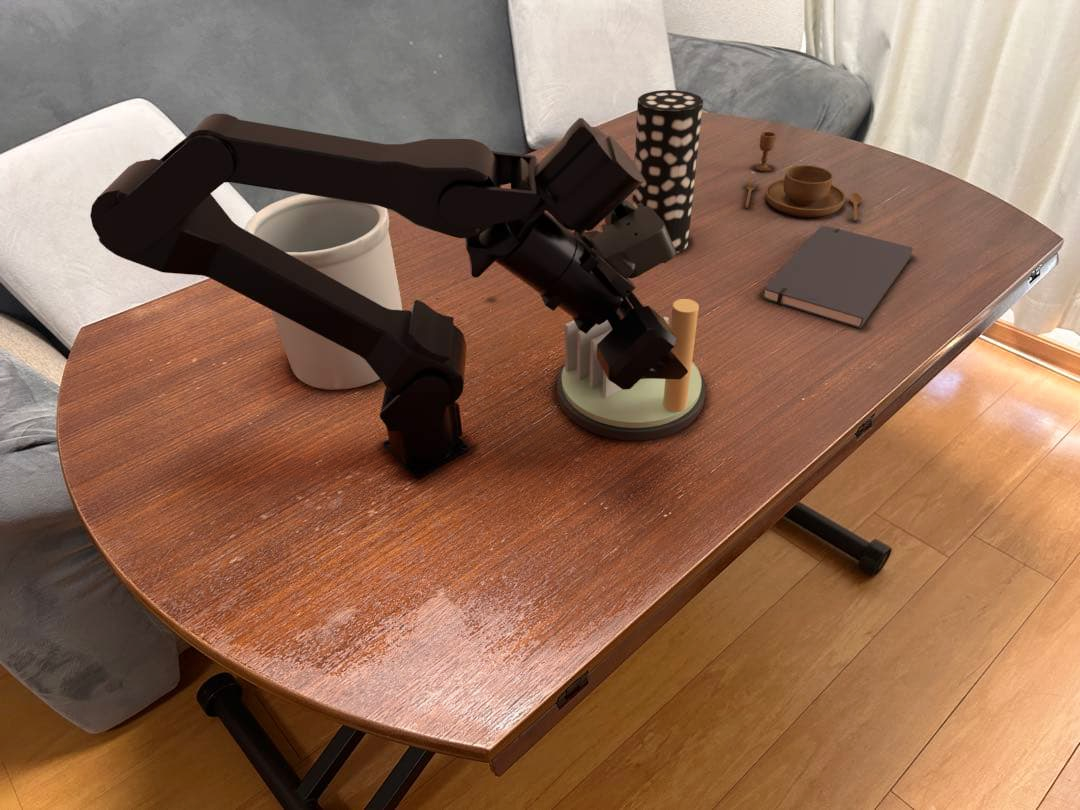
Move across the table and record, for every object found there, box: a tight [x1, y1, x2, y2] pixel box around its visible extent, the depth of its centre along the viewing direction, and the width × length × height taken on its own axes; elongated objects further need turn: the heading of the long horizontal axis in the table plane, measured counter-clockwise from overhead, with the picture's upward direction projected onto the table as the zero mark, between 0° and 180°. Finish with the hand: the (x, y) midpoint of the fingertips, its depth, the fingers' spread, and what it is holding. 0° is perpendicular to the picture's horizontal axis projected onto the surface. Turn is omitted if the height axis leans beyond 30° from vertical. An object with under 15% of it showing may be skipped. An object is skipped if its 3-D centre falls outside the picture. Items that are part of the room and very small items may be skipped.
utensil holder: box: [244, 193, 403, 391], centre depth 84 cm, size 15×15×18 cm
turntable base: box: [556, 364, 706, 441], centre depth 83 cm, size 16×16×1 cm
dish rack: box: [562, 298, 701, 428], centre depth 78 cm, size 15×15×13 cm
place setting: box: [745, 131, 863, 221], centre depth 119 cm, size 18×20×6 cm
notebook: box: [762, 225, 914, 329], centre depth 100 cm, size 13×2×21 cm
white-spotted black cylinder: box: [631, 89, 704, 254], centre depth 103 cm, size 8×8×20 cm
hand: (665, 346), depth 73 cm, fingers open, 9 cm apart
